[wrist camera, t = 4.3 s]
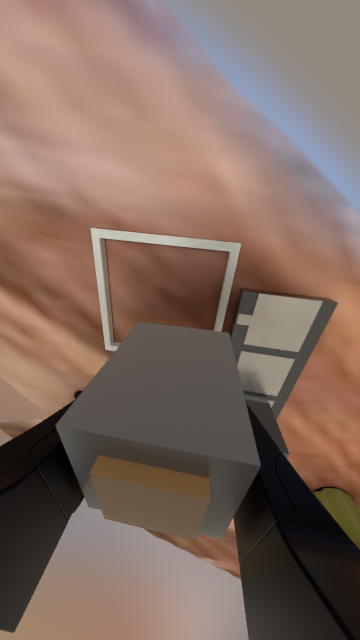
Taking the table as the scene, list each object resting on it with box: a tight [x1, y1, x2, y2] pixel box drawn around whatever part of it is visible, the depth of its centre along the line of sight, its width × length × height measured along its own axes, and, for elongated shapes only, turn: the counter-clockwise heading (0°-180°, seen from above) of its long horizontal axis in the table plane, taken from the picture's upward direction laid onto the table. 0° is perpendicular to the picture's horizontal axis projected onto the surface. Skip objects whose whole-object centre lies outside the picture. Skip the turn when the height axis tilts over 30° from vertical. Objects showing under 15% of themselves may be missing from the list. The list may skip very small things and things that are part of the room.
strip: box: [229, 288, 338, 419], centre depth 22 cm, size 20×9×1 cm, turn 174°
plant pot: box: [313, 488, 360, 549], centre depth 28 cm, size 9×9×9 cm
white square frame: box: [91, 228, 241, 351], centre depth 20 cm, size 15×15×1 cm
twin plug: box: [245, 399, 289, 458], centre depth 21 cm, size 5×5×6 cm
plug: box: [55, 321, 261, 541], centre depth 8 cm, size 5×5×6 cm
